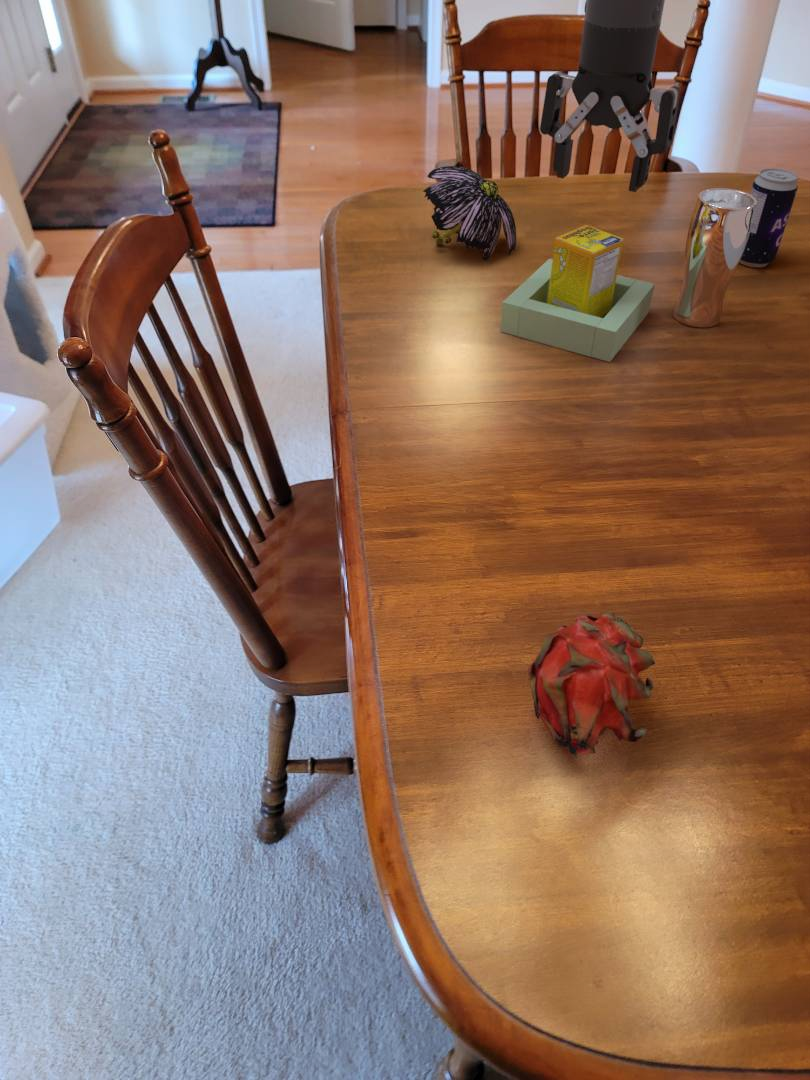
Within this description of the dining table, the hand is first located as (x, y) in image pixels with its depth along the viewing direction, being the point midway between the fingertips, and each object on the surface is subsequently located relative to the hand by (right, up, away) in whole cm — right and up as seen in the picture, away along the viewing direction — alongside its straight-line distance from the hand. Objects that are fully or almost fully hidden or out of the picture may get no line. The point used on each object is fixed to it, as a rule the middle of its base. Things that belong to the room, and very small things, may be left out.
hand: (597, 182), depth 94 cm
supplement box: (0, -13, +12) cm, 17 cm away
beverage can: (+28, -1, +25) cm, 38 cm away
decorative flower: (-13, +2, +28) cm, 31 cm away
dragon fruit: (-9, -53, -32) cm, 63 cm away
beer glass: (+16, -12, +13) cm, 24 cm away
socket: (0, -13, +12) cm, 17 cm away
